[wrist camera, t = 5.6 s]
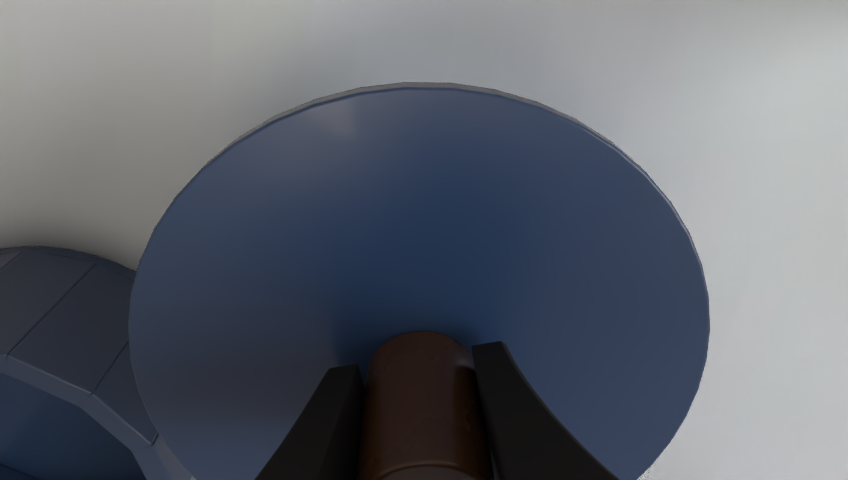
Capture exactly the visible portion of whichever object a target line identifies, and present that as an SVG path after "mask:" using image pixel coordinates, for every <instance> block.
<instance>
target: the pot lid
mask: <svg viewBox="0 0 848 480" xmlns="http://www.w3.org/2000/svg"><path fill="white" fill-rule="evenodd" d="M128 333H129V346H130V359H131V363H132V368H133V372H134V376H135V380H136V384H137V388H138V391H139V394H140V396H141V398H142V401H143V403H144V406H145V408H146V411H147V413H148V415H149V418H150V419H151V421H152V423H153V425H154V426H155V428H156V430H157V431H158V433H159V435H160V436H161V438H162V440H163V441H164V443H165V445H166V446H167V447H168V448H169V450H170V451H171V452H172V453H173V455H174V456H175V457H176V458H177V460H178V461H179V462H180V463H181V465H182V466H183V467H184V468H185V469H186V470H187V471H188V472H189V473H190V474H191V475H192V476H193V477H194V478H195V479H196V480H255V478H256V477H257V476H258V474H259V473H260V472H261V470H262V469H263V467H264V466H265V465H266V463H267V462H268V461H269V459H270V458H271V457H272V455H273V454H274V453H275V451H276V450H277V448H278V447H279V446H280V444H281V443H282V441H283V440H284V438H285V437H286V435H287V434H288V432H289V431H290V429H291V428H292V426H293V425H294V423H295V422H296V420H297V419H298V417H299V416H300V414H301V412H302V411H303V409H304V408H305V406H306V404H307V403H308V401H309V400H310V398H311V396H312V395H313V393H314V391H315V390H316V388H317V386H318V385H319V383H320V381H321V380H322V378H323V377H324V375H325V373H326V372H327V371H328V369H329V368H334V367H340V366H346V365H353V364H358V367H359V370H360V374H361V377H362V381H363V384H364V388H365V394H364V404H363V415H362V425H361V435H360V445H359V456H358V466H357V476H356V480H496V479H495V475H494V471H493V465H492V459H491V452H490V446H489V440H488V434H487V428H486V423H485V419H484V415H483V411H482V407H481V401H480V395H479V389H478V384H477V378H476V372H475V367H474V360H473V353H472V345H478V344H485V343H491V342H497V341H502V342H503V343H505V344H506V345H507V347H508V349H509V351H510V353H511V355H512V357H513V359H514V361H515V362H516V364H517V366H518V367H519V369H520V370H521V372H522V373H523V375H524V376H525V378H526V379H527V381H528V382H529V384H530V385H531V386H532V388H533V389H534V390H535V392H536V393H537V394H538V395H539V397H540V398H541V399H542V400H543V402H544V403H545V404H546V406H547V407H548V408H549V409H550V410H551V412H552V413H553V414H554V415H555V416H556V417H557V419H558V420H559V421H560V422H561V423H562V424H563V425H564V426H565V427H566V429H567V430H568V431H569V432H570V433H571V434H572V435H573V436H574V437H575V438H576V439H577V440H578V441H579V442H580V443H581V444H582V445H583V446H584V447H585V448H586V449H587V450H588V451H589V452H590V453H591V454H592V455H593V456H594V457H595V458H596V459H597V460H598V461H599V462H600V463H602V464H603V465H604V466H605V467H606V468H607V469H608V470H609V471H611V472H612V473H613V474H614V475H615V476H616V477H618V478H619V479H620V480H637V479H638V478H639V477H640V476H641V475H642V474H643V473H644V472H645V471H646V470H647V469H648V468H649V467H650V466H651V465H652V464H653V463H654V462H655V460H656V459H657V458H658V457H659V455H660V454H661V453H662V452H663V450H664V449H665V448H666V447H667V446H668V444H669V443H670V442H671V440H672V438H673V437H674V435H675V434H676V432H677V430H678V429H679V427H680V426H681V424H682V422H683V421H684V419H685V417H686V415H687V413H688V411H689V409H690V406H691V404H692V402H693V400H694V397H695V395H696V393H697V391H698V388H699V384H700V381H701V377H702V374H703V370H704V366H705V363H706V358H707V350H708V342H709V333H710V319H709V296H708V291H707V287H706V282H705V277H704V272H703V268H702V264H701V261H700V259H699V256H698V253H697V251H696V248H695V246H694V243H693V241H692V238H691V236H690V233H689V231H688V230H687V228H686V226H685V225H684V223H683V221H682V220H681V218H680V216H679V215H678V213H677V211H676V210H675V208H674V206H673V205H672V203H671V201H670V200H669V199H668V198H667V197H666V195H665V194H664V193H663V192H662V191H661V190H660V188H659V187H658V186H657V185H656V184H655V182H654V181H653V180H652V179H651V178H650V177H649V175H648V174H647V173H646V172H645V171H644V170H643V169H642V168H641V167H640V166H639V165H638V164H636V163H635V162H634V161H633V160H632V159H631V158H629V157H628V156H627V155H626V154H625V153H624V152H623V151H621V150H620V149H619V148H618V147H617V146H616V145H615V144H613V143H612V142H611V141H610V140H608V139H607V138H605V137H603V136H602V135H600V134H599V133H597V132H596V131H594V130H592V129H591V128H589V127H588V126H586V125H585V124H583V123H581V122H580V121H578V120H577V119H575V118H572V117H570V116H568V115H566V114H564V113H561V112H559V111H557V110H555V109H552V108H550V107H548V106H546V105H543V104H541V103H539V102H537V101H533V100H530V99H526V98H523V97H519V96H516V95H512V94H509V93H506V92H502V91H499V90H495V89H489V88H482V87H475V86H469V85H462V84H455V83H431V82H402V83H393V84H385V85H376V86H368V87H360V88H356V89H352V90H348V91H344V92H340V93H336V94H332V95H329V96H325V97H321V98H317V99H314V100H312V101H309V102H307V103H304V104H302V105H300V106H297V107H295V108H292V109H290V110H287V111H285V112H282V113H280V114H277V115H275V116H274V117H272V118H270V119H268V120H267V121H265V122H263V123H262V124H260V125H258V126H256V127H255V128H253V129H251V130H250V131H248V132H246V133H244V134H243V135H241V136H239V137H238V138H237V139H236V140H234V141H233V142H232V143H231V144H229V145H228V146H227V147H226V148H224V149H223V150H222V151H221V152H219V153H218V154H217V155H216V156H214V157H213V158H212V159H210V160H209V161H208V162H207V163H206V164H205V165H204V166H203V167H202V168H201V170H200V171H199V172H198V173H197V174H196V175H195V176H194V177H193V178H192V179H191V180H190V181H189V183H188V184H187V185H186V186H185V187H184V188H183V189H182V190H181V191H180V192H179V193H178V195H177V196H176V197H175V198H174V199H173V201H172V202H171V204H170V205H169V207H168V208H167V210H166V211H165V213H164V214H163V216H162V217H161V219H160V220H159V222H158V223H157V225H156V226H155V228H154V230H153V232H152V234H151V237H150V239H149V241H148V243H147V245H146V248H145V250H144V252H143V254H142V257H141V259H140V261H139V265H138V269H137V273H136V276H135V280H134V284H133V288H132V292H131V299H130V310H129V321H128Z"/></svg>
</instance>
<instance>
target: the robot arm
mask: <svg viewBox="0 0 848 480" xmlns="http://www.w3.org/2000/svg"><path fill="white" fill-rule="evenodd" d="M472 353H473V360H474V367H475V372H476V378H477V384H478V389H479V395H480V401H481V407H482V411H483V415H484V419H485V423H486V428H487V434H488V440H489V446H490V452H491V459H492V465H493V471H494V475H495V479H496V480H620V479H619V478H618V477H616V476H615V475H614V474H613V473H612V472H611V471H609V470H608V469H607V468H606V467H605V466H604V465H603V464H602V463H600V462H599V461H598V460H597V459H596V458H595V457H594V456H593V455H592V454H591V453H590V452H589V451H588V450H587V449H586V448H585V447H584V446H583V445H582V444H581V443H580V442H579V441H578V440H577V439H576V438H575V437H574V436H573V435H572V434H571V433H570V432H569V431H568V430H567V429H566V427H565V426H564V425H563V424H562V423H561V422H560V421H559V420H558V419H557V417H556V416H555V415H554V414H553V413H552V412H551V410H550V409H549V408H548V407H547V406H546V404H545V403H544V402H543V400H542V399H541V398H540V397H539V395H538V394H537V393H536V392H535V390H534V389H533V388H532V386H531V385H530V384H529V382H528V381H527V379H526V378H525V376H524V375H523V373H522V372H521V370H520V369H519V367H518V366H517V364H516V362H515V361H514V359H513V357H512V355H511V353H510V351H509V349H508V347H507V345H506V344H505V343H503V342H502V341H497V342H491V343H485V344H478V345H472ZM364 394H365V388H364V384H363V381H362V377H361V374H360V370H359V367H358V364H353V365H346V366H340V367H334V368H329V369H328V371H327V372H326V373H325V375H324V377H323V378H322V380H321V381H320V383H319V385H318V386H317V388H316V390H315V391H314V393H313V395H312V396H311V398H310V400H309V401H308V403H307V404H306V406H305V408H304V409H303V411H302V412H301V414H300V416H299V417H298V419H297V420H296V422H295V423H294V425H293V426H292V428H291V429H290V431H289V432H288V434H287V435H286V437H285V438H284V440H283V441H282V443H281V444H280V446H279V447H278V448H277V450H276V451H275V453H274V454H273V455H272V457H271V458H270V459H269V461H268V462H267V463H266V465H265V466H264V467H263V469H262V470H261V472H260V473H259V474H258V476H257V477H256V478H255V480H356V476H357V466H358V456H359V445H360V435H361V425H362V415H363V404H364Z"/></svg>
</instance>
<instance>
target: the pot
mask: <svg viewBox="0 0 848 480" xmlns="http://www.w3.org/2000/svg"><path fill="white" fill-rule="evenodd" d="M135 276H136V272H134V271H132V270H130V269H128V268H125V267H123V266H121V265H119V264H117V263H114V262H112V261H109V260H106V259H103V258H100V257H97V256H94V255H90V254H86V253H82V252H77V251H73V250H68V249H60V248H51V247H15V248H6V249H0V480H196V479H195V478H194V477H193V476H192V475H191V474H190V473H189V472H188V471H187V470H186V469H185V468H184V467H183V466H182V465H181V463H180V462H179V461H178V460H177V458H176V457H175V456H174V455H173V453H172V452H171V451H170V450H169V448H168V447H167V446H166V445H165V443H164V441H163V440H162V438H161V436H160V435H159V433H158V431H157V430H156V428H155V426H154V425H153V423H152V421H151V419H150V418H149V415H148V413H147V411H146V408H145V406H144V403H143V401H142V398H141V396H140V394H139V391H138V388H137V384H136V380H135V376H134V372H133V368H132V363H131V359H130V346H129V333H128V321H129V310H130V299H131V292H132V288H133V284H134V280H135Z"/></svg>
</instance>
